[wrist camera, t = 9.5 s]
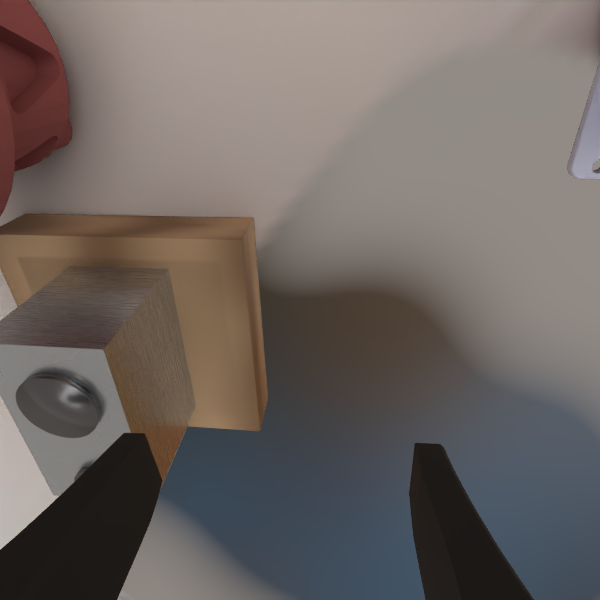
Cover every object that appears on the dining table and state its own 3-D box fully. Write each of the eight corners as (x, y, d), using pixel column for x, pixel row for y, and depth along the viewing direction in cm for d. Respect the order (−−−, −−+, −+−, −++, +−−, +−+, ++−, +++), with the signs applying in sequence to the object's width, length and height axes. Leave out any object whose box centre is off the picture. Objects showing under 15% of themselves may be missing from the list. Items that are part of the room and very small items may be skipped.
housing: (196, 405, 22) (151, 510, 17) (115, 400, 22) (49, 501, 17) (168, 268, 18) (98, 355, 13) (70, 265, 18) (-35, 348, 13)
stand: (253, 218, 19) (241, 240, 17) (267, 397, 24) (260, 431, 22) (24, 213, 20) (-14, 234, 18) (89, 386, 25) (66, 418, 23)
